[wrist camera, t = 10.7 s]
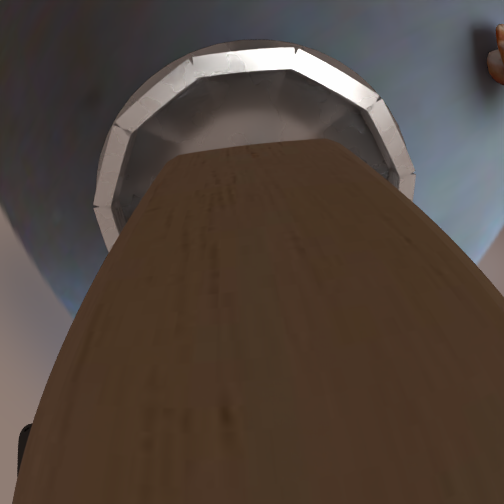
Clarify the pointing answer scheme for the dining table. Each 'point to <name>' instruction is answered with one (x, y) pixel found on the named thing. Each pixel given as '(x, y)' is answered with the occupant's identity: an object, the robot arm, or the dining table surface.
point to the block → (276, 347)
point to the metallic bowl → (242, 118)
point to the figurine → (497, 57)
